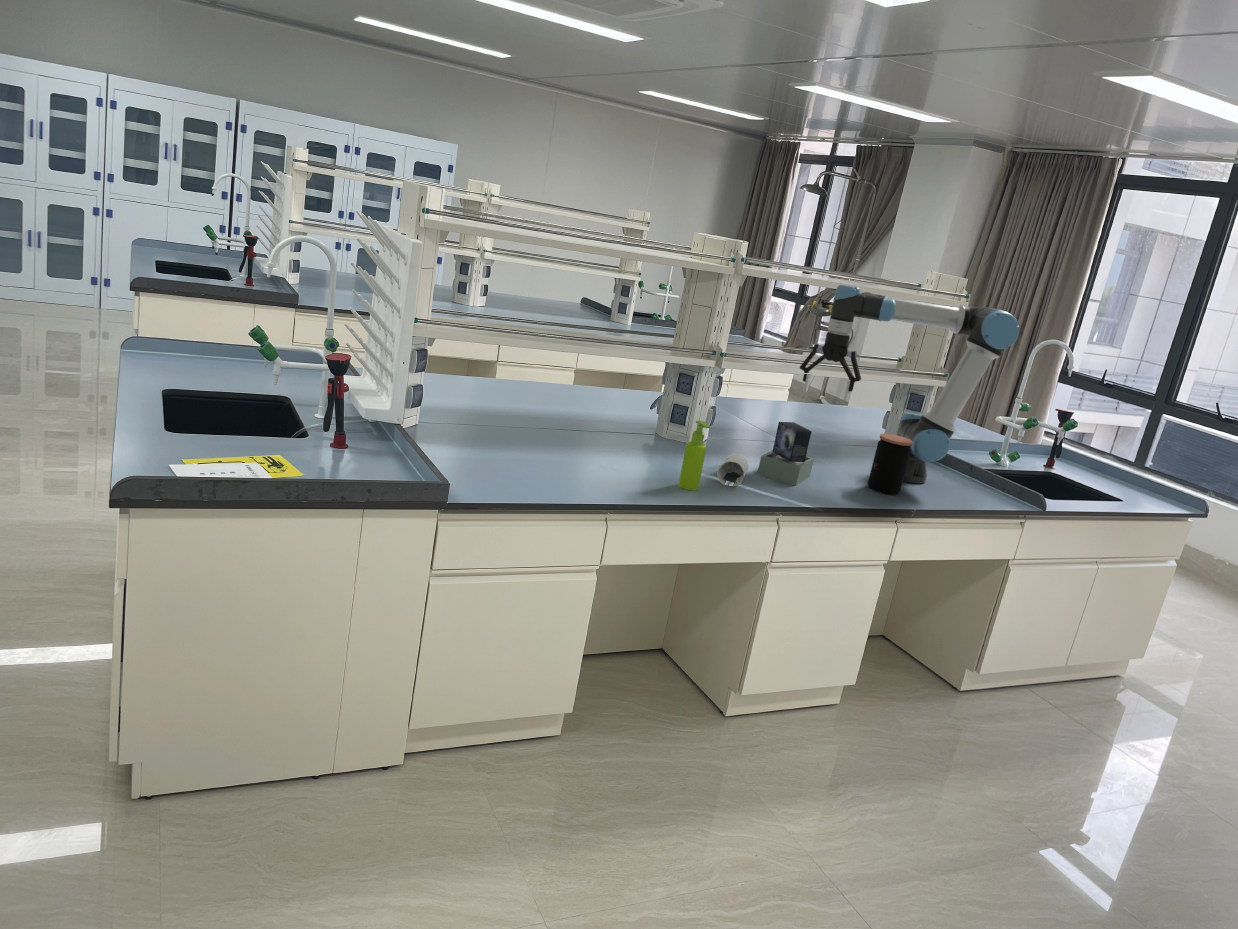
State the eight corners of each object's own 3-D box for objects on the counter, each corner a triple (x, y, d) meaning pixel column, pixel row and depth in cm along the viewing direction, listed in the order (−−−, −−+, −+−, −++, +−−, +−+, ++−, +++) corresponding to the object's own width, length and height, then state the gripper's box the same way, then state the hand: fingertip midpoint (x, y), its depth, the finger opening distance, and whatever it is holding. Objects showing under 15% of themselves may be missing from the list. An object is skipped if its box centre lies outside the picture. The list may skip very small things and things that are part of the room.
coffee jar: (874, 483, 297) (887, 432, 292) (904, 493, 291) (918, 441, 286) (861, 487, 289) (874, 435, 284) (891, 497, 283) (906, 444, 278)
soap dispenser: (685, 491, 252) (698, 424, 246) (674, 483, 258) (687, 418, 252) (703, 492, 254) (716, 425, 249) (692, 483, 260) (705, 419, 255)
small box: (770, 451, 285) (777, 420, 283) (787, 452, 288) (794, 421, 285) (788, 461, 276) (795, 430, 273) (805, 462, 279) (812, 431, 276)
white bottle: (748, 475, 280) (753, 451, 278) (740, 490, 263) (746, 464, 261) (724, 469, 282) (729, 446, 280) (714, 483, 264) (720, 458, 262)
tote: (809, 478, 288) (814, 458, 286) (795, 488, 274) (800, 467, 272) (772, 467, 294) (776, 448, 292) (756, 476, 280) (761, 455, 278)
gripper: (798, 326, 288) (786, 389, 294) (874, 341, 279) (860, 405, 284) (804, 325, 295) (792, 386, 301) (878, 339, 285) (864, 402, 291)
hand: (825, 396), depth 293 cm, fingers open, 13 cm apart
